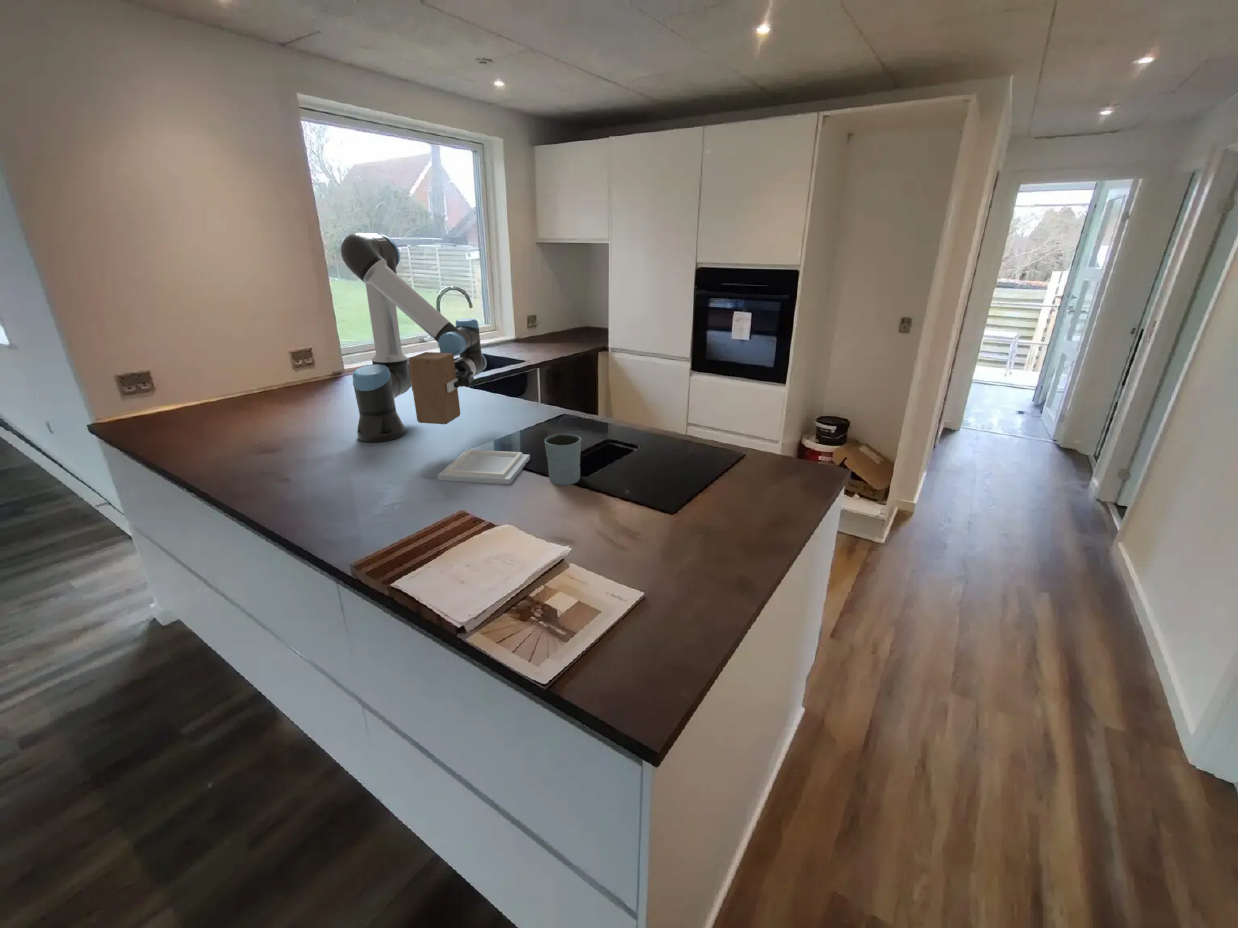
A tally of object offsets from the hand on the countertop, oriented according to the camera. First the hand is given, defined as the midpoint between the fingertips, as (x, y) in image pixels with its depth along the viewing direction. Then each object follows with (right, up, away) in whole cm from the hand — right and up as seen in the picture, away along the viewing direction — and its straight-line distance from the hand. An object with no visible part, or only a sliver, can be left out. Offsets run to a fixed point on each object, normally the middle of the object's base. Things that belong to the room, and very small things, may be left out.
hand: (430, 387), depth 161 cm
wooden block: (0, -9, +7) cm, 12 cm away
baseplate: (+17, -24, -1) cm, 30 cm away
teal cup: (+41, -27, -8) cm, 49 cm away
